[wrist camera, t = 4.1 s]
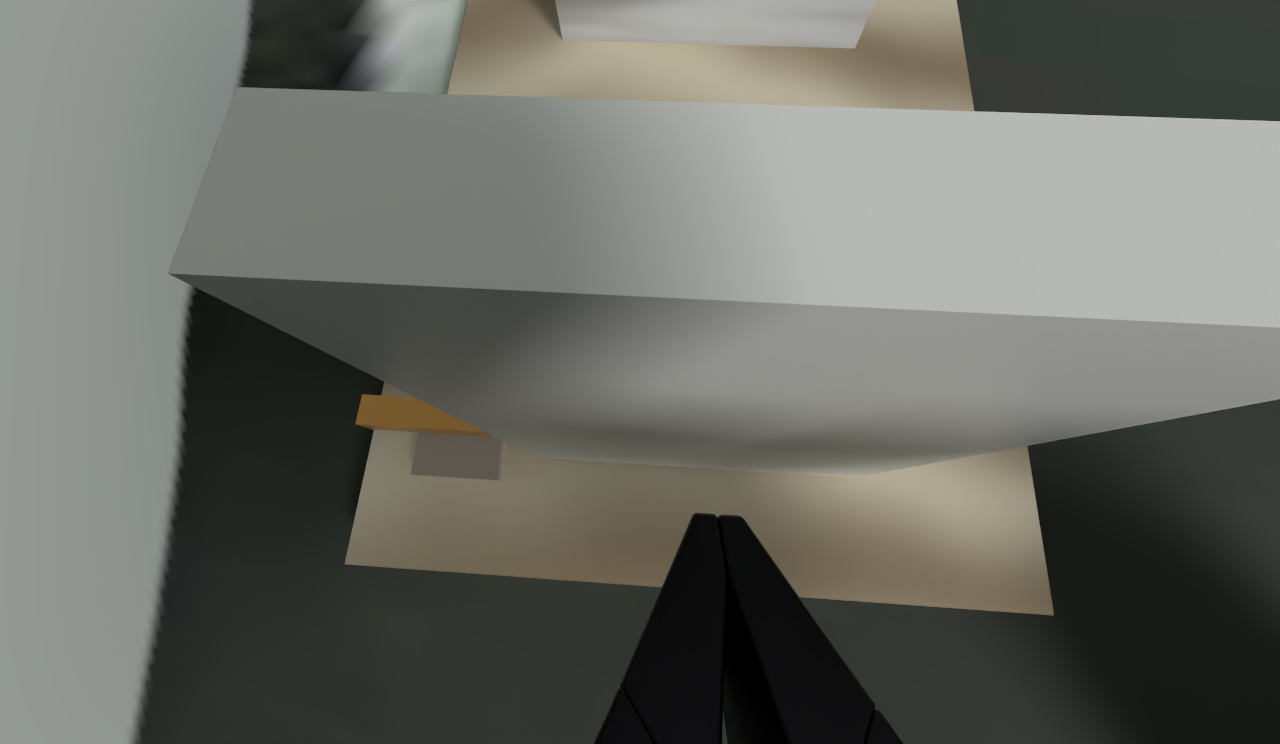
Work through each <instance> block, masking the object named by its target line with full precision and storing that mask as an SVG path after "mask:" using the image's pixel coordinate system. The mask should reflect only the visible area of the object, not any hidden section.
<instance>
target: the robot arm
mask: <svg viewBox="0 0 1280 744" xmlns="http://www.w3.org/2000/svg"><path fill="white" fill-rule="evenodd" d="M874 708H875V704H874V702H873V700H872V699H871V698H870V696H869V695H868V693H867V692H866V691H865V689H864V688H863V686H862V685H861V684H860V682H859V681H858V679H857V678H856V676H855V675H854V674H853V672H852V671H851V669H850V668H849V667H848V665H847V664H846V662H845V661H844V659H843V658H842V657H841V655H840V654H839V652H838V651H837V650H836V648H835V647H834V645H833V644H832V643H831V641H830V640H829V638H828V637H827V635H826V634H825V633H824V631H823V630H822V628H821V627H820V626H819V624H818V623H817V621H816V620H815V618H814V617H813V616H812V614H811V613H810V611H809V610H808V609H807V607H806V606H805V604H804V603H803V601H802V600H801V599H800V597H799V596H798V594H797V593H796V592H795V590H794V589H793V587H792V586H791V585H790V583H789V582H788V580H787V579H786V577H785V576H784V575H783V573H782V572H781V570H780V569H779V568H778V566H777V565H776V563H775V562H774V560H773V559H772V558H771V556H770V555H769V553H768V552H767V551H766V549H765V548H764V546H763V545H762V544H761V542H760V541H759V539H758V538H757V536H756V535H755V534H754V532H753V531H752V529H751V528H750V527H749V525H748V524H747V522H746V521H745V519H744V518H743V517H741V516H738V515H723V514H722V515H719V516H718V517H717V516H716V515H715V514H708V513H694V514H693V515H692V517H691V520H690V522H689V524H688V527H687V529H686V531H685V534H684V536H683V538H682V541H681V543H680V545H679V548H678V550H677V552H676V555H675V557H674V559H673V562H672V564H671V567H670V569H669V571H668V574H667V576H666V578H665V581H664V583H663V585H662V588H661V590H660V592H659V595H658V597H657V599H656V602H655V604H654V606H653V609H652V611H651V614H650V616H649V618H648V621H647V623H646V625H645V628H644V630H643V632H642V635H641V637H640V639H639V642H638V644H637V646H636V649H635V651H634V654H633V656H632V658H631V661H630V663H629V665H628V668H627V670H626V672H625V675H624V677H623V679H622V682H621V684H620V688H619V689H618V690H617V693H616V695H615V697H614V700H613V702H612V704H611V707H610V709H609V711H608V714H607V716H606V718H605V720H604V722H603V724H602V727H601V729H600V731H599V733H598V735H597V737H596V740H595V742H594V744H722V719H723V712H724V719H725V726H726V733H727V740H728V744H903V743H902V741H901V740H900V738H899V737H898V736H897V734H896V733H895V731H894V730H893V729H892V727H891V726H890V724H889V723H888V721H887V720H886V719H885V717H884V716H883V714H882V713H881V711H880V710H878V709H875V710H874Z"/></svg>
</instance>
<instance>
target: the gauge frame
mask: <svg viewBox="0 0 1280 744" xmlns="http://www.w3.org/2000/svg"><path fill="white" fill-rule="evenodd" d="M447 94H458V95H489V96H519V97H550V98H580V99H611V100H641V101H672V102H702V103H733V104H763V105H794V106H824V107H855V108H885V109H916V110H946V111H974V107H973V101H972V95H971V89H970V82H969V76H968V70H967V63H966V57H965V51H964V44H963V38H962V32H961V26H960V19H959V13H958V7H957V0H468V1H467V6H466V11H465V15H464V20H463V24H462V29H461V33H460V38H459V43H458V47H457V52H456V56H455V61H454V65H453V70H452V75H451V79H450V84H449V88H448V93H447ZM382 396H399V397H414V396H412V395H410V394H408V393H406V392H404V391H402V390H400V389H398V388H396V387H394V386H392V385H390V384H388V383H386V382H384V386H383V391H382ZM694 513H708V514H715V515H716V516H717V517H718V516H719V515H722V514H723V515H738V516H741V517H743V518H744V519H745V521H746V522H747V524H748V525H749V527H750V528H751V529H752V531H753V532H754V534H755V535H756V536H757V538H758V539H759V541H760V542H761V544H762V545H763V546H764V548H765V549H766V551H767V552H768V553H769V555H770V556H771V558H772V559H773V560H774V562H775V563H776V565H777V566H778V568H779V569H780V570H781V572H782V573H783V575H784V576H785V577H786V579H787V580H788V582H789V583H790V585H791V586H792V587H793V589H794V590H795V592H796V593H797V594H798V596H799V597H806V598H820V599H834V600H848V601H862V602H876V603H890V604H903V605H917V606H931V607H945V608H959V609H973V610H987V611H1000V612H1014V613H1028V614H1042V615H1054V611H1053V605H1052V598H1051V592H1050V586H1049V580H1048V573H1047V567H1046V561H1045V554H1044V548H1043V542H1042V535H1041V529H1040V523H1039V517H1038V510H1037V504H1036V498H1035V491H1034V485H1033V479H1032V472H1031V466H1030V460H1029V454H1028V447H1027V446H1024V447H1018V448H1013V449H1007V450H1002V451H997V452H991V453H986V454H980V455H975V456H970V457H964V458H959V459H953V460H948V461H943V462H937V463H932V464H926V465H921V466H916V467H910V468H905V469H899V470H894V471H889V472H883V473H878V474H872V475H867V476H862V477H842V476H826V475H810V474H794V473H778V472H762V471H746V470H730V469H714V468H698V467H681V466H665V465H649V464H633V463H617V462H601V461H585V460H569V459H553V458H537V457H534V456H532V455H530V454H528V453H526V452H524V451H522V450H520V449H518V448H516V447H514V446H512V445H510V444H508V443H506V442H504V441H502V440H500V439H498V438H496V437H486V436H470V435H453V434H437V433H421V432H404V431H388V430H374V432H373V436H372V441H371V446H370V450H369V455H368V459H367V464H366V468H365V473H364V478H363V482H362V487H361V491H360V496H359V500H358V505H357V510H356V514H355V519H354V523H353V528H352V533H351V537H350V542H349V546H348V551H347V555H346V560H345V564H349V565H363V566H377V567H390V568H404V569H418V570H432V571H446V572H460V573H474V574H487V575H501V576H515V577H529V578H543V579H557V580H571V581H585V582H598V583H612V584H626V585H640V586H654V587H662V585H663V583H664V581H665V578H666V576H667V574H668V571H669V569H670V567H671V564H672V562H673V559H674V557H675V555H676V552H677V550H678V548H679V545H680V543H681V541H682V538H683V536H684V534H685V531H686V529H687V527H688V524H689V522H690V520H691V517H692V515H693V514H694Z"/></svg>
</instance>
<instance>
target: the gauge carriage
mask: <svg viewBox="0 0 1280 744" xmlns="http://www.w3.org/2000/svg"><path fill="white" fill-rule="evenodd" d="M169 274H170V275H172V276H174V277H176V278H178V279H181V280H182V281H184V282H186V283H188V284H190V285H192V286H194V287H196V288H198V289H200V290H202V291H204V292H206V293H208V294H210V295H212V296H214V297H216V298H218V299H220V300H222V301H224V302H226V303H228V304H230V305H232V306H234V307H236V308H238V309H240V310H242V311H244V312H246V313H248V314H250V315H252V316H254V317H256V318H258V319H260V320H262V321H264V322H266V323H268V324H270V325H272V326H274V327H276V328H278V329H280V330H282V331H284V332H286V333H288V334H290V335H292V336H294V337H296V338H298V339H300V340H302V341H304V342H306V343H308V344H310V345H312V346H314V347H316V348H318V349H320V350H322V351H324V352H326V353H328V354H330V355H332V356H334V357H336V358H338V359H340V360H342V361H344V362H346V363H348V364H350V365H352V366H354V367H356V368H358V369H360V370H362V371H364V372H366V373H368V374H370V375H372V376H374V377H376V378H378V379H380V380H382V381H384V382H386V383H388V384H390V385H392V386H394V387H396V388H398V389H400V390H402V391H404V392H406V393H408V394H410V395H412V396H414V397H399V396H382V395H365V394H362V397H361V402H360V406H359V410H358V415H357V419H356V425H359V426H362V427H366V428H369V429H372V430H388V431H404V432H421V433H437V434H453V435H470V436H486V437H496V438H498V439H500V440H502V441H504V442H506V443H508V444H510V445H512V446H514V447H516V448H518V449H520V450H522V451H524V452H526V453H528V454H530V455H532V456H534V457H537V458H553V459H569V460H585V461H601V462H617V463H633V464H649V465H665V466H681V467H698V468H714V469H730V470H746V471H762V472H778V473H794V474H810V475H826V476H842V477H862V476H867V475H872V474H878V473H883V472H889V471H894V470H899V469H905V468H910V467H916V466H921V465H926V464H932V463H937V462H943V461H948V460H953V459H959V458H964V457H970V456H975V455H980V454H986V453H991V452H997V451H1002V450H1007V449H1013V448H1018V447H1024V446H1029V445H1034V444H1040V443H1045V442H1050V441H1056V440H1061V439H1067V438H1072V437H1077V436H1083V435H1088V434H1094V433H1099V432H1104V431H1110V430H1115V429H1121V428H1126V427H1131V426H1137V425H1142V424H1148V423H1153V422H1158V421H1164V420H1169V419H1175V418H1180V417H1185V416H1191V415H1196V414H1202V413H1207V412H1212V411H1218V410H1223V409H1229V408H1234V407H1239V406H1245V405H1250V404H1256V403H1261V402H1266V401H1272V400H1277V399H1280V121H1252V120H1221V119H1190V118H1160V117H1129V116H1099V115H1068V114H1038V113H1007V112H977V111H946V110H916V109H885V108H855V107H824V106H794V105H763V104H733V103H702V102H672V101H641V100H611V99H580V98H550V97H519V96H489V95H458V94H428V93H397V92H367V91H336V90H306V89H275V88H244V87H237V90H236V92H235V95H234V98H233V100H232V103H231V106H230V109H229V111H228V114H227V117H226V119H225V122H224V125H223V127H222V130H221V133H220V135H219V138H218V141H217V144H216V146H215V149H214V152H213V154H212V157H211V160H210V162H209V165H208V168H207V171H206V173H205V176H204V179H203V181H202V184H201V187H200V189H199V192H198V195H197V198H196V200H195V203H194V206H193V208H192V211H191V214H190V217H189V219H188V222H187V224H186V227H185V230H184V233H183V235H182V238H181V241H180V243H179V246H178V249H177V251H176V254H175V257H174V259H173V262H172V265H171V268H170V271H169Z"/></svg>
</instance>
